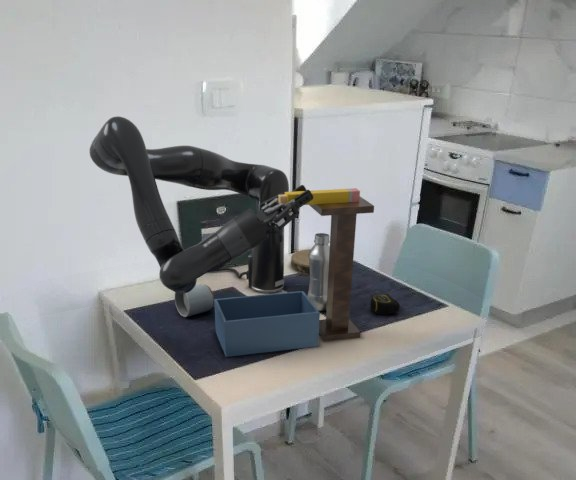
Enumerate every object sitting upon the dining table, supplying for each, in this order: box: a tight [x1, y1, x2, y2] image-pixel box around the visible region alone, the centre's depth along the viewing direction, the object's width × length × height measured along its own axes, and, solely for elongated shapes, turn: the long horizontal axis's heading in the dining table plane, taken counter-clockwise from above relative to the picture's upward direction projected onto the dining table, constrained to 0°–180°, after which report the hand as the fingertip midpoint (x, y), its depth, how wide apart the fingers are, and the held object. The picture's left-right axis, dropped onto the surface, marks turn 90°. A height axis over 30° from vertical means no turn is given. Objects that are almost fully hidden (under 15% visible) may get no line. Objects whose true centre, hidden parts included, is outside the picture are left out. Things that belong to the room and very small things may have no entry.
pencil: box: [278, 187, 361, 206], centre depth 135 cm, size 18×2×2 cm, turn 106°
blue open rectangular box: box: [213, 290, 321, 358], centre depth 146 cm, size 22×13×9 cm, turn 106°
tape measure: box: [369, 293, 401, 315], centre depth 163 cm, size 7×7×4 cm
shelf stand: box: [308, 196, 375, 342], centre depth 145 cm, size 12×10×32 cm
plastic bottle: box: [306, 232, 330, 312], centre depth 160 cm, size 6×7×20 cm
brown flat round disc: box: [290, 248, 311, 276], centre depth 192 cm, size 16×16×3 cm
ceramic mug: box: [174, 283, 215, 318], centre depth 160 cm, size 11×8×8 cm
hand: (308, 191), depth 133 cm, fingers open, 3 cm apart
